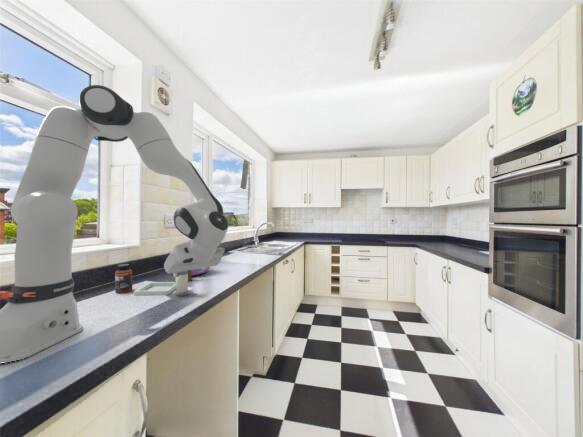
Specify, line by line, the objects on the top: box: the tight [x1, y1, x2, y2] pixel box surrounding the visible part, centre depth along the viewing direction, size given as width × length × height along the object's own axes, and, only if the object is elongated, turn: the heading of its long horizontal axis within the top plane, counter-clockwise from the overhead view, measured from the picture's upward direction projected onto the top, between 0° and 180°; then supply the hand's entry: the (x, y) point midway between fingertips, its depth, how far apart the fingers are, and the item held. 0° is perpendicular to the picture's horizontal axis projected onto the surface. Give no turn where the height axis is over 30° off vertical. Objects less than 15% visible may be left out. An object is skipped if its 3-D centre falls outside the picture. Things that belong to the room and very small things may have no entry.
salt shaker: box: [175, 270, 189, 297], centre depth 97 cm, size 4×4×10 cm
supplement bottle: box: [114, 263, 133, 294], centre depth 104 cm, size 6×6×11 cm
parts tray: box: [133, 281, 176, 296], centre depth 103 cm, size 13×13×2 cm
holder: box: [165, 289, 199, 302], centre depth 97 cm, size 9×9×1 cm
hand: (188, 273), depth 94 cm, fingers open, 8 cm apart
